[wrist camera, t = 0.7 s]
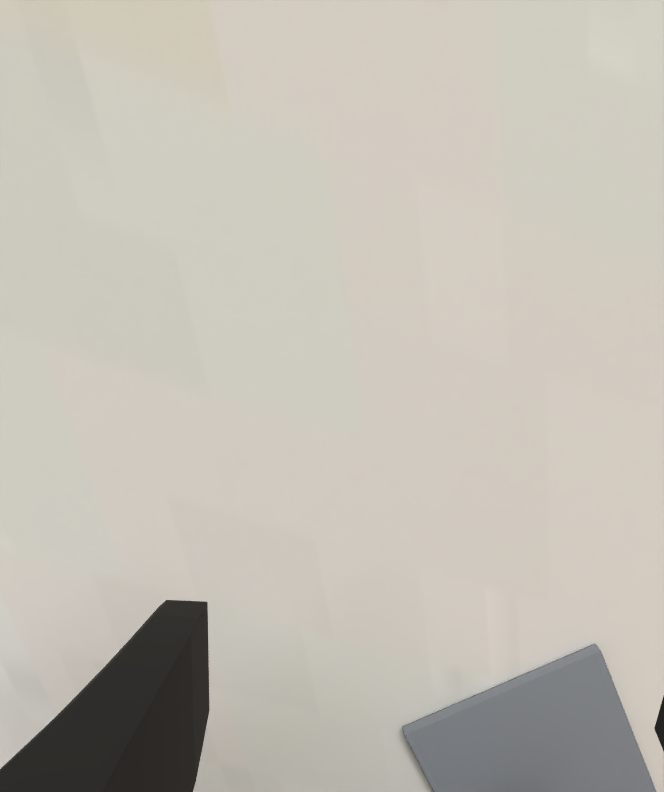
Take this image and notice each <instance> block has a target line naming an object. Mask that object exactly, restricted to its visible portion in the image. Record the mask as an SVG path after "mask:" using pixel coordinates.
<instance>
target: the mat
mask: <svg viewBox="0 0 664 792" xmlns="http://www.w3.org/2000/svg"><path fill="white" fill-rule="evenodd" d="M403 731H404V735H405V737H406V739H407V741H408V743H409V745H410V747H411V749H412V751H413V752H414V754H415V756H416V758H417V760H418V762H419V764H420V766H421V768H422V770H423V772H424V774H425V775H426V777H427V779H428V781H429V783H430V785H431V787H432V789H433V791H434V792H656V790H655V787H654V785H653V782H652V780H651V777H650V774H649V772H648V769H647V767H646V764H645V762H644V759H643V757H642V754H641V752H640V749H639V747H638V744H637V741H636V739H635V736H634V734H633V731H632V729H631V726H630V724H629V721H628V719H627V716H626V713H625V711H624V708H623V706H622V703H621V701H620V698H619V696H618V693H617V691H616V688H615V686H614V683H613V680H612V678H611V675H610V673H609V670H608V668H607V665H606V663H605V660H604V658H603V655H602V652H601V650H600V649H599V648H598V646H597V645H596V644H594V645H592V646H589V647H587V648H585V649H582V650H580V651H578V652H575V653H573V654H571V655H568V656H566V657H564V658H561V659H559V660H557V661H554V662H552V663H550V664H547V665H545V666H543V667H540V668H538V669H536V670H534V671H531V672H529V673H527V674H524V675H522V676H520V677H517V678H515V679H513V680H510V681H508V682H506V683H503V684H501V685H499V686H496V687H494V688H492V689H489V690H487V691H485V692H482V693H480V694H478V695H475V696H473V697H471V698H468V699H466V700H464V701H462V702H459V703H457V704H455V705H452V706H450V707H448V708H445V709H443V710H441V711H438V712H436V713H434V714H431V715H429V716H427V717H424V718H422V719H420V720H417V721H415V722H413V723H410V724H408V725H406V726H403Z"/></svg>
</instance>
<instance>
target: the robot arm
mask: <svg viewBox="0 0 664 792" xmlns="http://www.w3.org/2000/svg"><path fill="white" fill-rule="evenodd" d="M208 714H209V668H208V612H207V602H198V601H175V600H166V601H165V602H164V603H163V604H162V605H160V606H159V607H158V608H157V610H156V611H155V612H154V613H153V614H152V615H151V616H150V617H149V619H148V620H147V621H146V622H145V623H144V624H143V625H142V626H141V628H140V629H139V630H138V631H137V632H136V633H135V634H134V635H133V637H132V638H131V639H130V640H129V641H128V642H127V643H126V644H125V645H124V646H123V648H122V649H121V650H120V651H119V652H118V653H117V654H116V655H115V656H114V657H113V658H112V659H111V661H110V662H109V663H108V664H107V665H106V666H105V667H104V668H103V669H102V670H101V671H100V672H99V673H98V674H97V675H96V676H95V677H94V678H93V679H92V680H91V681H90V683H89V684H88V685H87V686H86V687H85V688H84V689H83V690H82V691H81V692H80V693H79V694H78V695H77V696H76V697H75V698H74V699H73V700H72V701H71V702H70V703H69V704H68V705H67V706H66V707H65V708H64V709H63V710H62V711H61V712H60V713H59V714H58V715H57V716H56V717H55V718H54V719H53V720H52V721H51V722H50V723H49V724H48V725H47V726H46V727H45V728H44V729H42V730H41V731H40V732H39V733H38V734H37V735H36V736H35V737H34V738H33V739H32V740H31V741H30V742H29V743H28V744H27V745H25V746H24V747H23V748H22V749H21V750H20V751H19V752H18V753H17V754H16V755H15V756H14V757H13V758H12V759H11V760H10V761H9V762H7V763H6V764H5V765H4V766H3V767H2V768H1V769H0V792H193V789H194V785H195V782H196V777H197V772H198V766H199V761H200V756H201V751H202V746H203V741H204V735H205V730H206V725H207V719H208ZM655 731H656V733H657V736H658V738H659V741H660V743H661V746H662V748H663V750H664V697H663V700H662V704H661V707H660V711H659V715H658V718H657V722H656V725H655Z"/></svg>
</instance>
